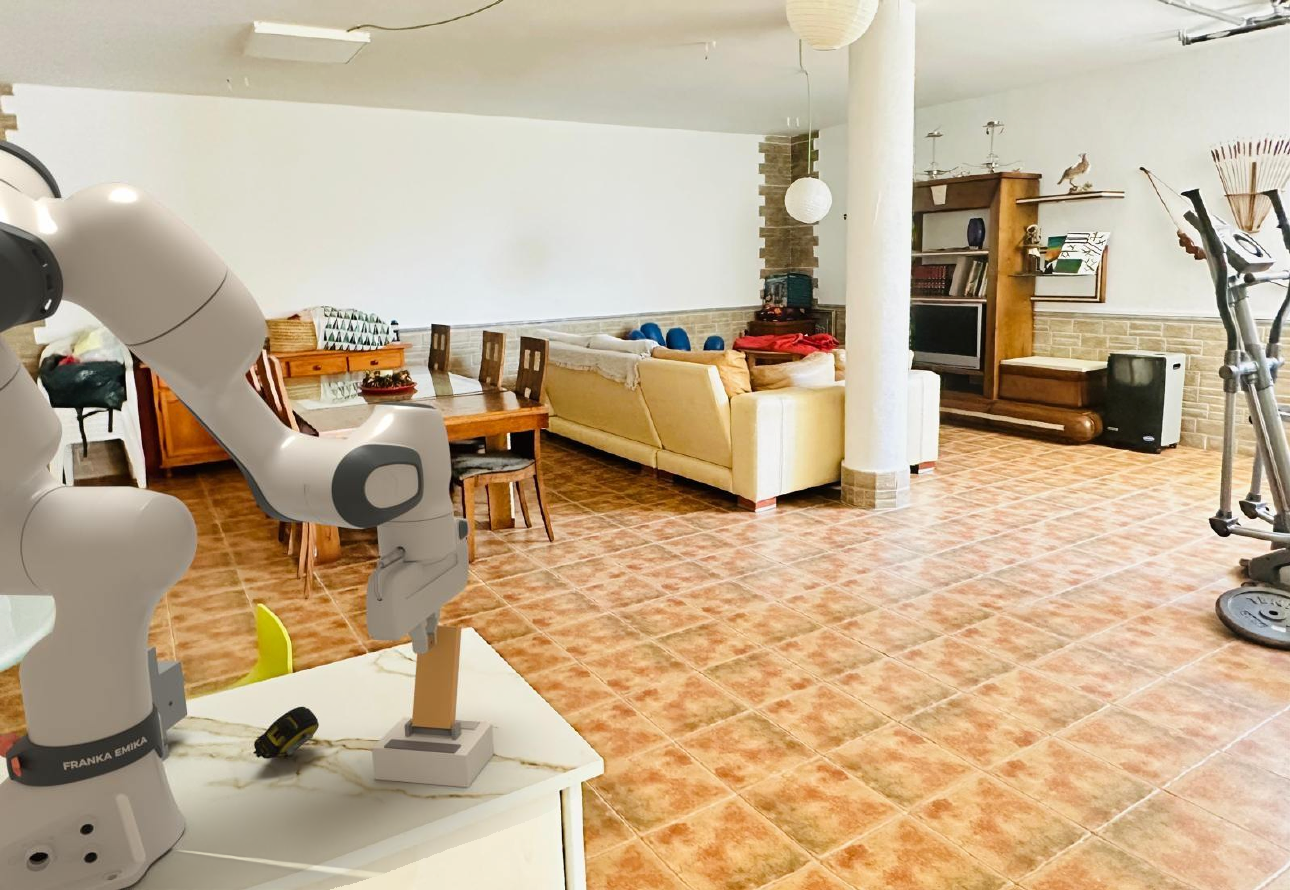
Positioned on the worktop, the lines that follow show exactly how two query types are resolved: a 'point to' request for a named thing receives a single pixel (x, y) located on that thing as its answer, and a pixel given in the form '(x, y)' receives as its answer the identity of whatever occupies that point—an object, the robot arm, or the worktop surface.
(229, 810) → the worktop surface
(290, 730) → the tape measure
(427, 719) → the lever
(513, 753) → the worktop surface
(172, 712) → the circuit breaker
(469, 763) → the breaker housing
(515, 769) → the worktop surface
